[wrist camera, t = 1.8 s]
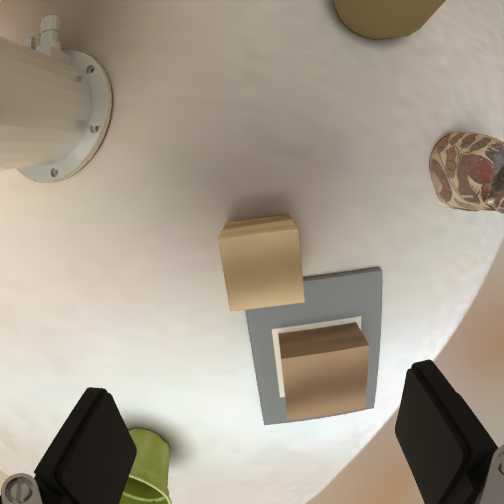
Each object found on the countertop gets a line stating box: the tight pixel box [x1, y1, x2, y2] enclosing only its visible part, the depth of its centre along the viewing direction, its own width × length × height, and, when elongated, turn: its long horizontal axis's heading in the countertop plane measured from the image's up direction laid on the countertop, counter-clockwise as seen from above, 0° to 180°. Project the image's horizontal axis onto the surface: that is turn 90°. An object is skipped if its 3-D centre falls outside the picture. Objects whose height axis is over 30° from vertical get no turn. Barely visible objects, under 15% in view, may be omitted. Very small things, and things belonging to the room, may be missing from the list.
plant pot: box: [119, 428, 172, 504], centre depth 29 cm, size 9×9×9 cm
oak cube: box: [218, 214, 305, 311], centre depth 24 cm, size 5×5×6 cm
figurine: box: [429, 132, 504, 213], centre depth 18 cm, size 7×7×12 cm
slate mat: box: [246, 268, 382, 425], centre depth 29 cm, size 16×12×1 cm
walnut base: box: [278, 322, 369, 421], centre depth 26 cm, size 7×7×4 cm
